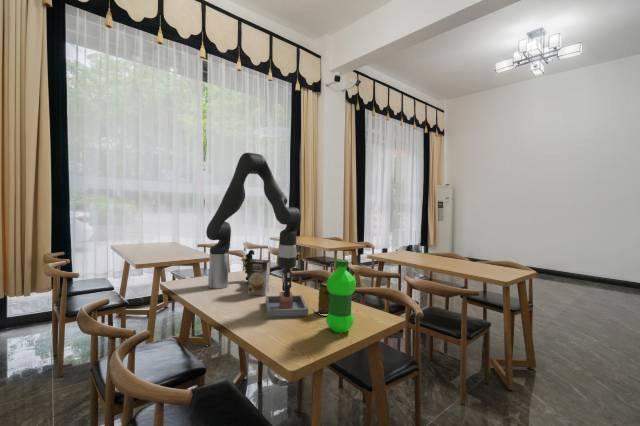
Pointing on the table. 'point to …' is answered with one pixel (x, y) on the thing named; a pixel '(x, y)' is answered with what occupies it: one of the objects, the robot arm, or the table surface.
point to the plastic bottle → (340, 298)
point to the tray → (297, 309)
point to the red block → (285, 301)
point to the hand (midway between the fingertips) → (285, 293)
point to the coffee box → (258, 277)
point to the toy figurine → (249, 257)
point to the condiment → (323, 299)
